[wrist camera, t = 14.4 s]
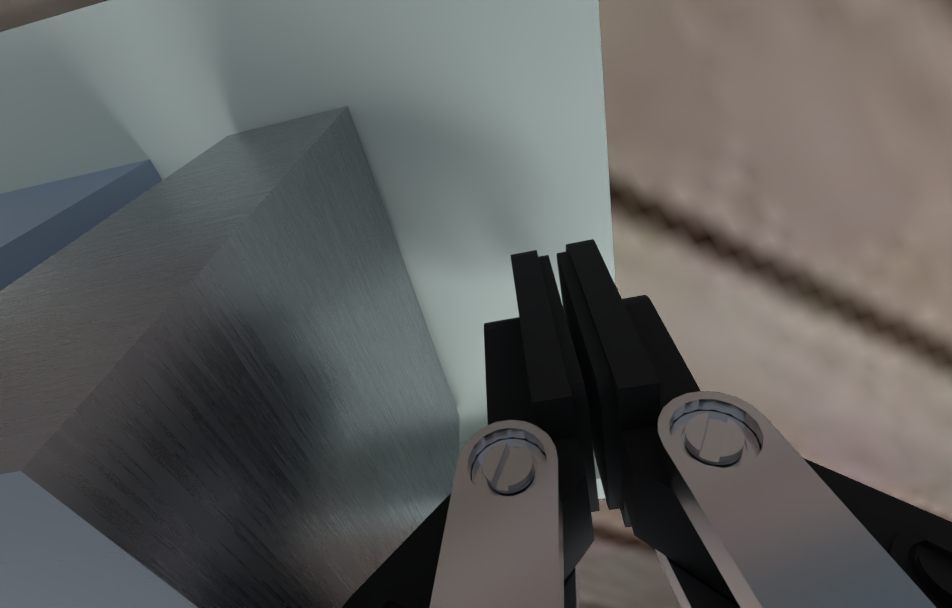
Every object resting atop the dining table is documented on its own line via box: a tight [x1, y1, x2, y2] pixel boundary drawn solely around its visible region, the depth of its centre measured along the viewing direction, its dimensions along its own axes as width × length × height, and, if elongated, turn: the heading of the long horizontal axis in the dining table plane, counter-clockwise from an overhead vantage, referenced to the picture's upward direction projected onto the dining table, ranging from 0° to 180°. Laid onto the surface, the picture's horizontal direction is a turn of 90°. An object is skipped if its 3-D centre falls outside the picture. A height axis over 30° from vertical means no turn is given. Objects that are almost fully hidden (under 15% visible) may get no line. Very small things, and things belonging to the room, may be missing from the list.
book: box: [0, 159, 162, 291], centre depth 10 cm, size 4×9×6 cm, turn 12°
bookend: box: [0, 106, 460, 608], centre depth 8 cm, size 2×9×8 cm, turn 13°
